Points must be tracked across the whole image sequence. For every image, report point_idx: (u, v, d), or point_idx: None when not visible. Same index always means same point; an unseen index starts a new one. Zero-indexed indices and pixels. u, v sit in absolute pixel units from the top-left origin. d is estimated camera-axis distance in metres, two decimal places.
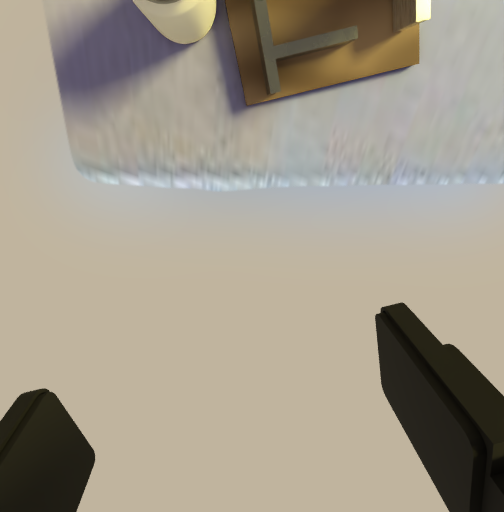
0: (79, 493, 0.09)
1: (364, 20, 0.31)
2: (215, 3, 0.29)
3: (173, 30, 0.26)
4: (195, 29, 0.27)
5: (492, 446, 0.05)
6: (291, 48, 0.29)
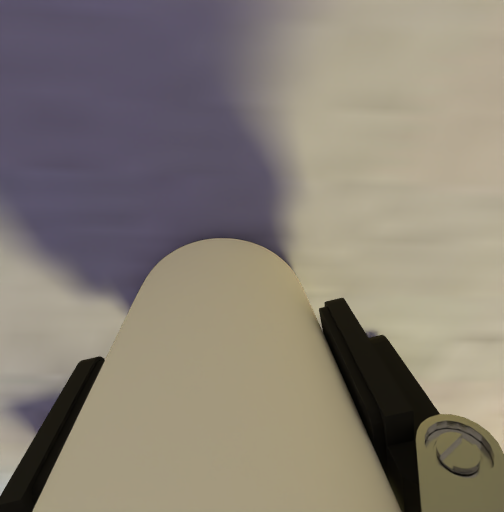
0: None
1: None
2: None
3: None
4: None
5: (384, 418, 0.06)
6: None
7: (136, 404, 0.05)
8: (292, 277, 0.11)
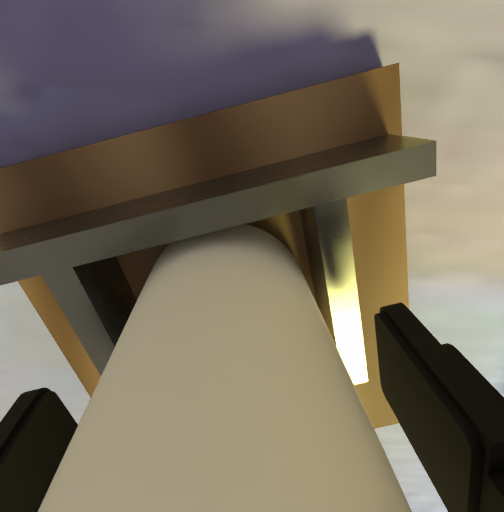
0: None
1: None
2: None
3: None
4: None
5: (490, 445, 0.05)
6: (80, 312, 0.11)
7: (160, 340, 0.06)
8: (289, 256, 0.12)
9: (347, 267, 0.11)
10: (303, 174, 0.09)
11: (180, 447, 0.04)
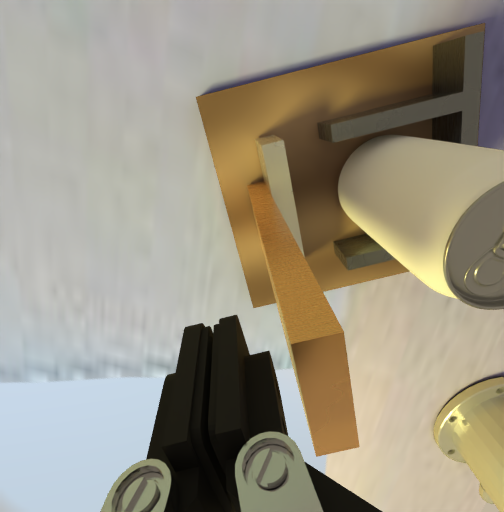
0: None
1: (293, 154, 0.22)
2: (350, 184, 0.20)
3: (451, 142, 0.16)
4: (403, 147, 0.17)
5: (215, 435, 0.06)
6: (435, 108, 0.18)
7: None
8: None
9: None
10: None
11: None
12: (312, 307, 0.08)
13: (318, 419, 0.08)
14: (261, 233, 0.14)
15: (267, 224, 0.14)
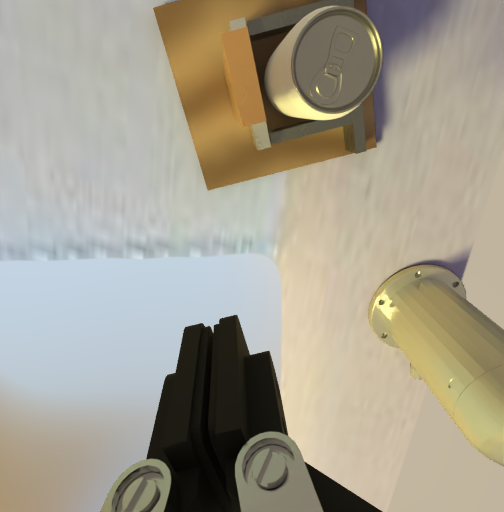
0: None
1: None
2: (267, 71, 0.28)
3: None
4: None
5: (215, 435, 0.06)
6: None
7: None
8: None
9: (327, 127, 0.29)
10: (362, 107, 0.29)
11: None
12: None
13: (241, 95, 0.16)
14: (223, 57, 0.21)
15: None
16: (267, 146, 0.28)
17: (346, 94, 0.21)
